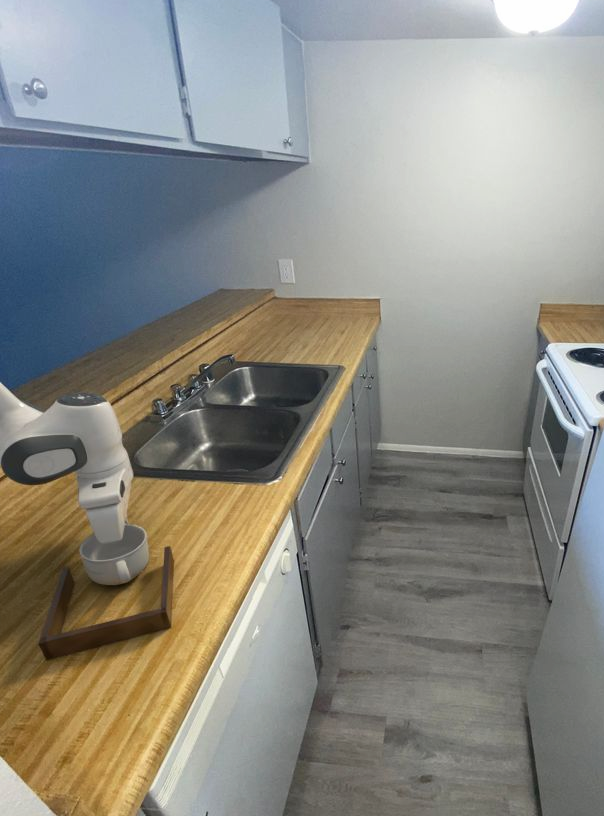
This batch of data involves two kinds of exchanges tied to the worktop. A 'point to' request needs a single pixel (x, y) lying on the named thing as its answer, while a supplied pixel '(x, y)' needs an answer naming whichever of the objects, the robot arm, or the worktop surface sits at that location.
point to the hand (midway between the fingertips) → (123, 530)
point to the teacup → (116, 557)
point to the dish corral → (106, 632)
